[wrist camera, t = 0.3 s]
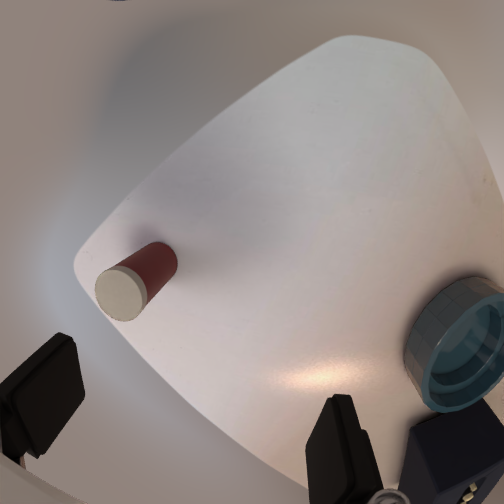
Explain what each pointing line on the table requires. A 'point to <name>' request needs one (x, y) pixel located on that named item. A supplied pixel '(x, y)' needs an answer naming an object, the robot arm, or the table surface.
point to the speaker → (454, 457)
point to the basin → (458, 345)
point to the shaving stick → (135, 281)
